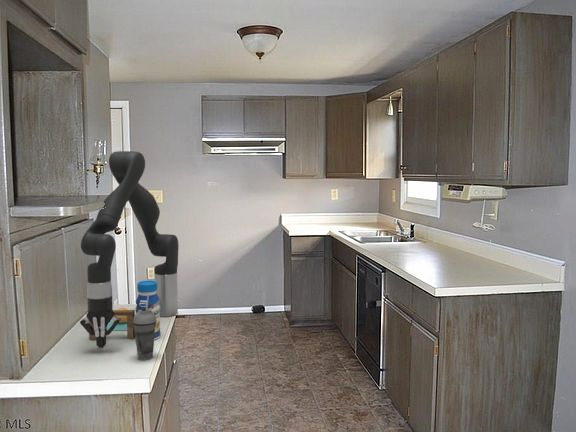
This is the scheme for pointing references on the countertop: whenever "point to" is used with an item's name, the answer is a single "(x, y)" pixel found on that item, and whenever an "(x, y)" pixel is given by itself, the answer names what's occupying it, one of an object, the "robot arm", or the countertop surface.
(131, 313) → the bridge
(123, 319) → the ball
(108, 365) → the countertop surface
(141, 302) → the beverage bottle
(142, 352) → the beverage cup
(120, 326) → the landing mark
